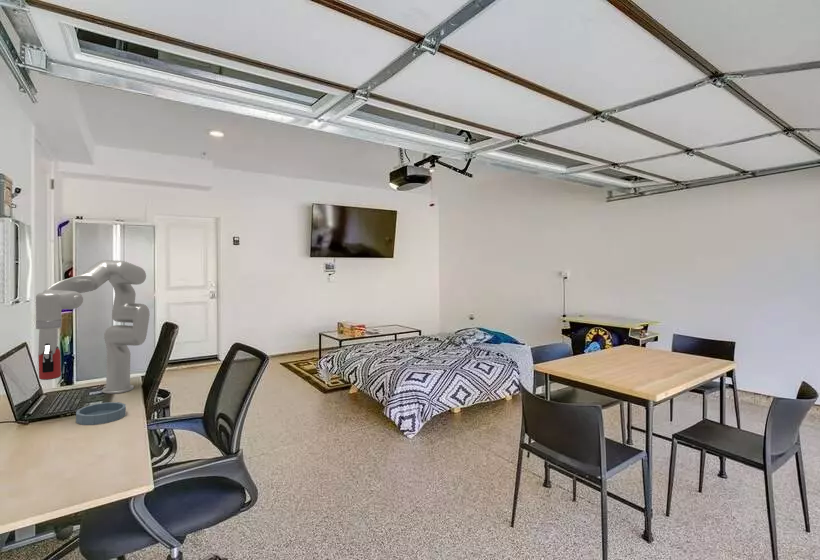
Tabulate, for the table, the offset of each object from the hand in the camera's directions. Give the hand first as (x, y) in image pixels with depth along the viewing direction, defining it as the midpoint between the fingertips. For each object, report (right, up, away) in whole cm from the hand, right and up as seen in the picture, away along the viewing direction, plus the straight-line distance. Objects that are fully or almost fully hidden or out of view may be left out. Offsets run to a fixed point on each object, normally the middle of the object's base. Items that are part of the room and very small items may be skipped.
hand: (49, 369), depth 165 cm
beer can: (0, -4, 0) cm, 4 cm away
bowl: (+17, -20, +5) cm, 27 cm away
